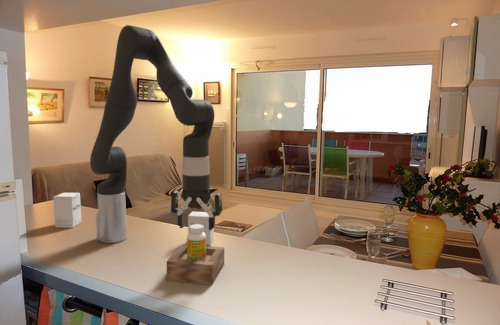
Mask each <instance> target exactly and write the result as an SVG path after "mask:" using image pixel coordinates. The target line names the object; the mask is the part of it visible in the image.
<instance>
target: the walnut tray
mask: <svg viewBox="0 0 500 325" xmlns="http://www.w3.org/2000/svg"><path fill="white" fill-rule="evenodd" d="M224 266H225V246H215V245H206V259H205V260H203V261H195V260H188V259H187V243H183V244H182V245H181V246H180V247H179V248H178V249H177V250H176V251H175V252H174V253H172V255H171V256H170V257H169V258H168V259H167V260H166V281H169V282H170V281H171V282H180V283H182V282H183V283H192V284H201V285H202V284H204V285H214V283H215V282H214V281H216V279H218V277H219V275H220V273H221V271H222V270H223V268H224Z"/></svg>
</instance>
